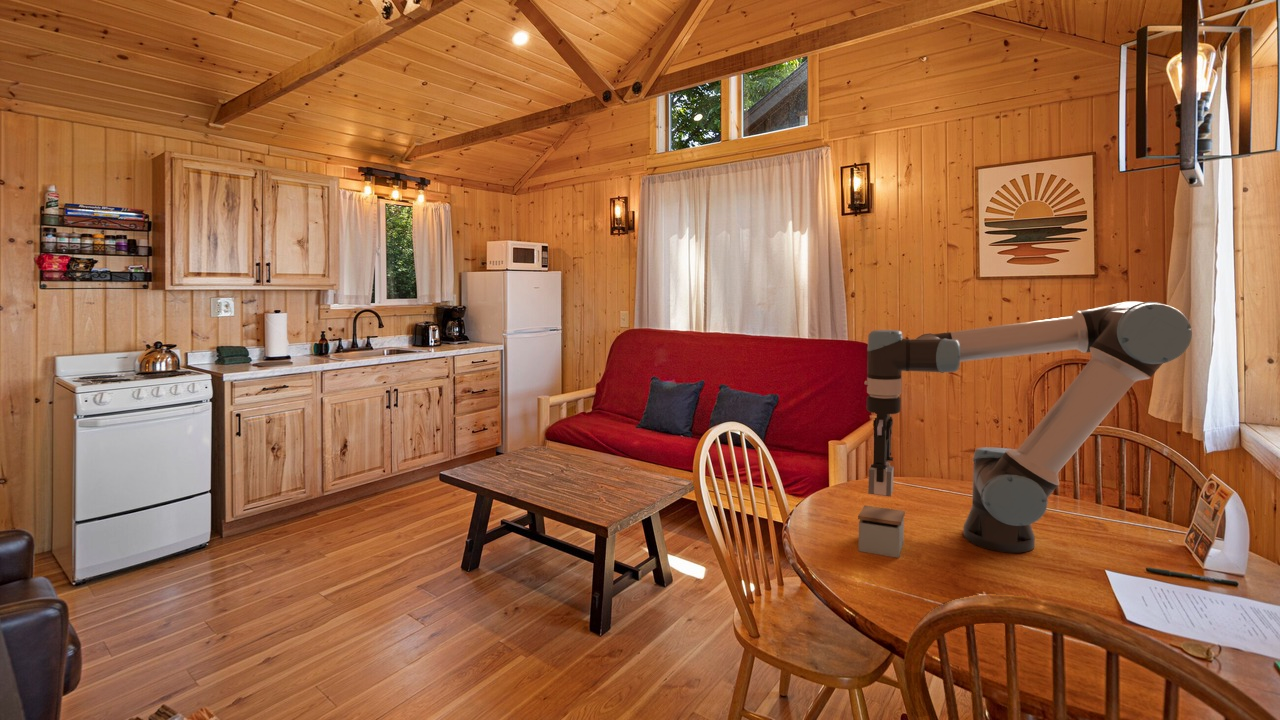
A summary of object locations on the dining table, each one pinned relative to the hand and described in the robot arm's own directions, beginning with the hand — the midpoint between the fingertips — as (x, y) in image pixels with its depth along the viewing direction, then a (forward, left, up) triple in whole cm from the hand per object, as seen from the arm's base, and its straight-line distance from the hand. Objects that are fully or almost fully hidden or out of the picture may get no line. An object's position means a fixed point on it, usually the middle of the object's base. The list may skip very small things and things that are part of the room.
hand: (881, 490), depth 146 cm
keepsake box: (0, 0, -14) cm, 14 cm away
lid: (0, 0, -7) cm, 7 cm away
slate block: (0, 0, 0) cm, 0 cm away
